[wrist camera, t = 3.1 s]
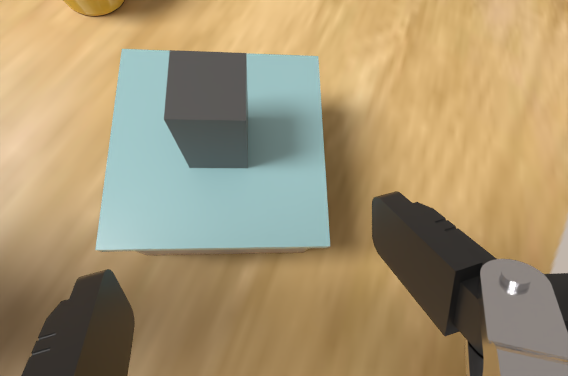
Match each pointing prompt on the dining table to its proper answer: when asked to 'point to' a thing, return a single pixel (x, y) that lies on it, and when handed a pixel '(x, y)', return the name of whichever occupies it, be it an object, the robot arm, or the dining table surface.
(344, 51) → the dining table surface
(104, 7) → the plant pot
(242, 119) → the lid
